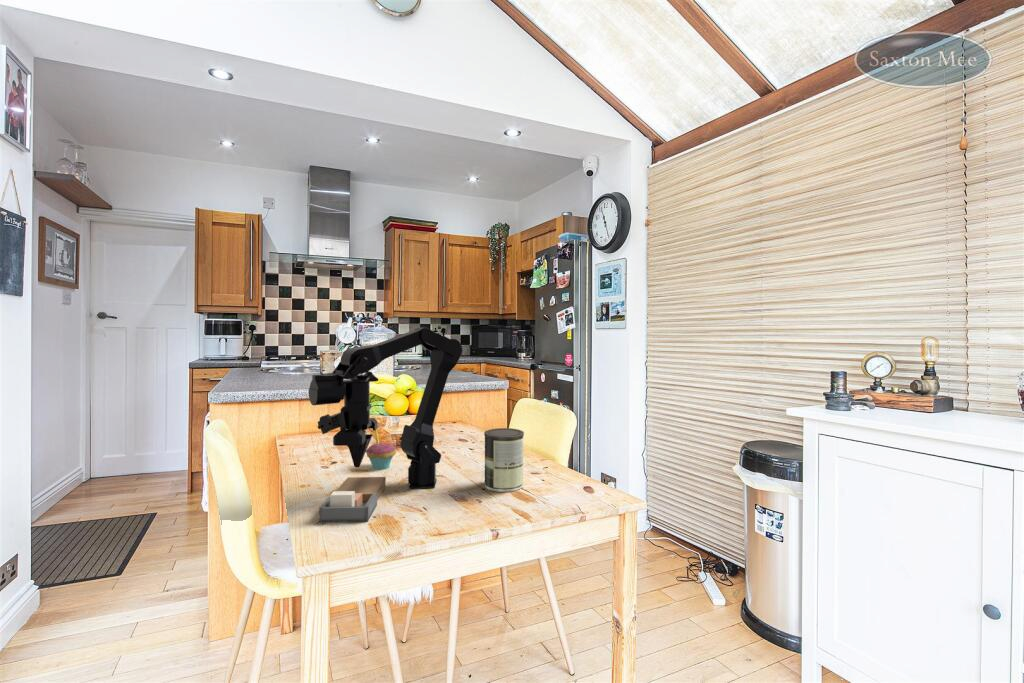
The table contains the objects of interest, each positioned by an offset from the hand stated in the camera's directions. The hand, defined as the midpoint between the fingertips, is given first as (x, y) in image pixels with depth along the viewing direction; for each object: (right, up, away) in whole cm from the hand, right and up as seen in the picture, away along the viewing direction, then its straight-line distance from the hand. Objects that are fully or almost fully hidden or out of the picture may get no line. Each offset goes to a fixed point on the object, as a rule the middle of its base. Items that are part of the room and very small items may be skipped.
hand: (357, 466), depth 115 cm
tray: (+1, -8, -8) cm, 12 cm away
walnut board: (0, -8, +3) cm, 9 cm away
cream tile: (0, -5, -9) cm, 10 cm away
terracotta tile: (0, -8, -6) cm, 10 cm away
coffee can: (+35, -8, +11) cm, 37 cm away
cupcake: (-2, -7, +28) cm, 29 cm away
